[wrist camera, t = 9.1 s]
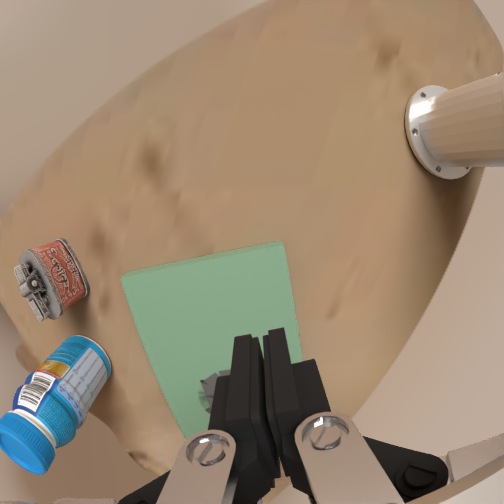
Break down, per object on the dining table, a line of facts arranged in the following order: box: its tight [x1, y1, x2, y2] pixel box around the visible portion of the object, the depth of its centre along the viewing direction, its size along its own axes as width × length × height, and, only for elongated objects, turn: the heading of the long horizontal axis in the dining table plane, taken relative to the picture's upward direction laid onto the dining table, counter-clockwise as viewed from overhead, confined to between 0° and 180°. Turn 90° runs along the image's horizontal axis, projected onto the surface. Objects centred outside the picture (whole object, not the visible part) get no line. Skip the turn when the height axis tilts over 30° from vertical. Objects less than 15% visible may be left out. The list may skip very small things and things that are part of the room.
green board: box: [120, 240, 303, 440], centre depth 34 cm, size 26×18×2 cm
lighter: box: [14, 238, 90, 322], centre depth 28 cm, size 8×3×10 cm, turn 25°
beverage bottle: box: [0, 335, 111, 475], centre depth 26 cm, size 8×8×20 cm
